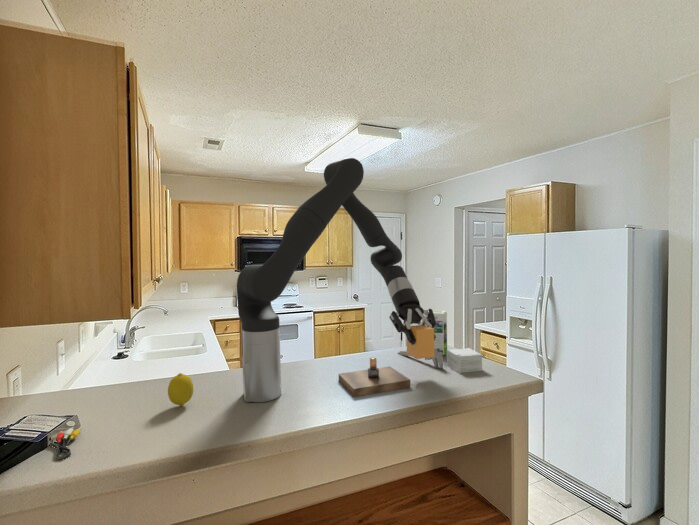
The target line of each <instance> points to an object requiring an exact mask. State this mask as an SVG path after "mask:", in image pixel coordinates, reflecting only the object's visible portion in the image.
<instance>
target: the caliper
mask: <svg viewBox="0 0 699 525" xmlns="http://www.w3.org/2000/svg"><path fill="white" fill-rule="evenodd" d="M397 354H399V355H400V354H401V355H400V356H403V355H404V356H405V357H406V356H407V357H411V356H410V355H408V354H407V350H399V351H398V352H397ZM404 356H403V357H404ZM424 360H426V361H430V360H432V362H433V365H434V368H436V367H437V368H439V369H440V370H441V369H443V368H444V358H443V355H442V352H440V349H439V348H434V357H430V358H424Z"/></svg>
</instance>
